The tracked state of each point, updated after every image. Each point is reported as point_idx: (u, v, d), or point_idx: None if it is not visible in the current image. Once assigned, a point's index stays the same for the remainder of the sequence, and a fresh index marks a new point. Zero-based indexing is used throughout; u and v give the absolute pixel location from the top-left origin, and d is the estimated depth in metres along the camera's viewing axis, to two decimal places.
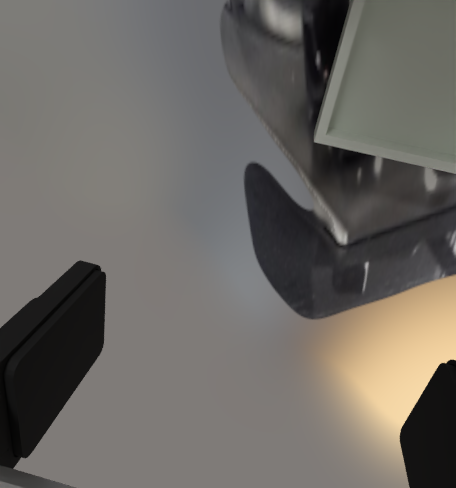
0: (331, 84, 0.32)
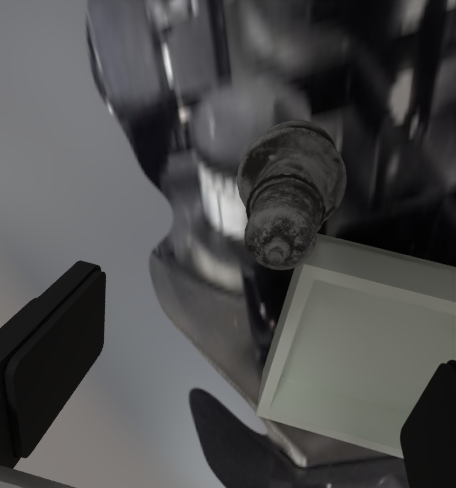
0: (271, 371, 0.27)
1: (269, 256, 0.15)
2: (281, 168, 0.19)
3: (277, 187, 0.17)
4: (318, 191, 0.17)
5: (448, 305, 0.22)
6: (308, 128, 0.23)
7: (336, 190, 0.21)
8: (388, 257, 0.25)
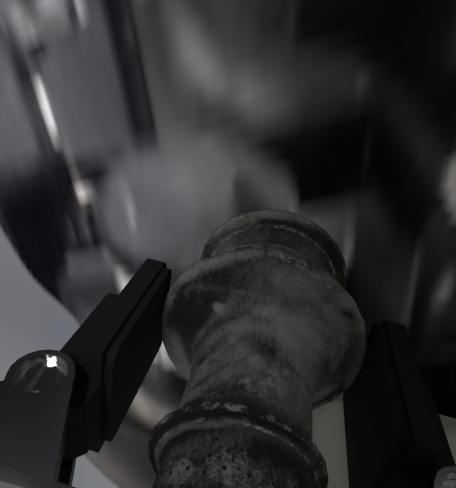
0: None
1: None
2: (232, 349, 0.09)
3: (208, 452, 0.07)
4: (310, 449, 0.07)
5: None
6: (294, 225, 0.13)
7: (346, 364, 0.11)
8: None
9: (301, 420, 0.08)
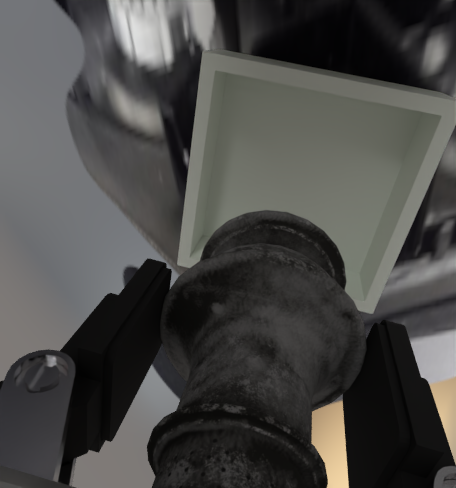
0: (186, 203, 0.25)
1: None
2: (231, 350, 0.09)
3: (207, 453, 0.07)
4: (309, 450, 0.07)
5: (356, 88, 0.20)
6: (293, 225, 0.13)
7: (346, 365, 0.11)
8: (303, 66, 0.23)
9: (300, 421, 0.08)
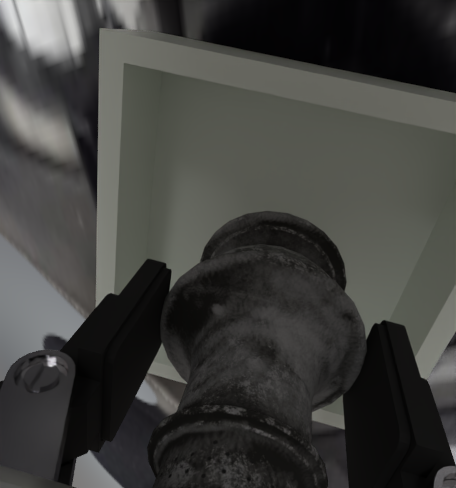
0: (98, 274, 0.16)
1: None
2: (231, 351, 0.09)
3: (208, 455, 0.07)
4: (310, 452, 0.07)
5: (373, 97, 0.11)
6: (294, 226, 0.13)
7: (346, 366, 0.11)
8: (283, 59, 0.14)
9: (301, 423, 0.08)
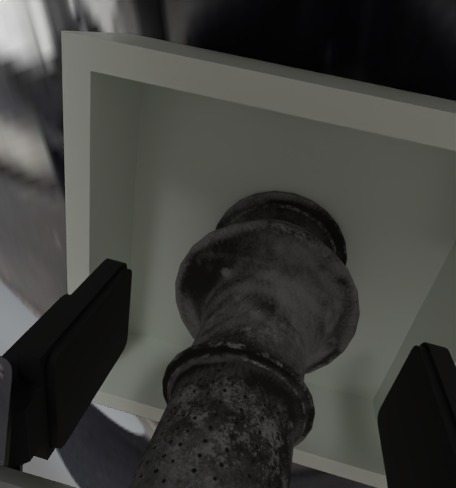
0: None
1: None
2: (236, 305, 0.10)
3: (212, 379, 0.08)
4: (299, 383, 0.08)
5: (383, 112, 0.09)
6: (298, 205, 0.14)
7: (341, 328, 0.12)
8: (278, 66, 0.13)
9: (293, 363, 0.09)
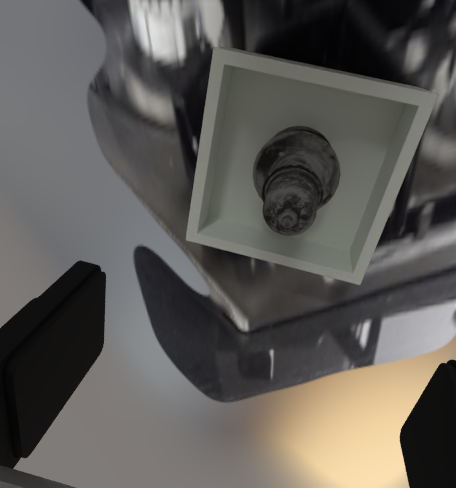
0: (195, 183, 0.28)
1: (282, 222, 0.20)
2: (289, 161, 0.24)
3: (287, 174, 0.22)
4: (318, 178, 0.23)
5: (345, 80, 0.24)
6: (310, 132, 0.29)
7: (332, 181, 0.26)
8: (301, 63, 0.27)
9: None
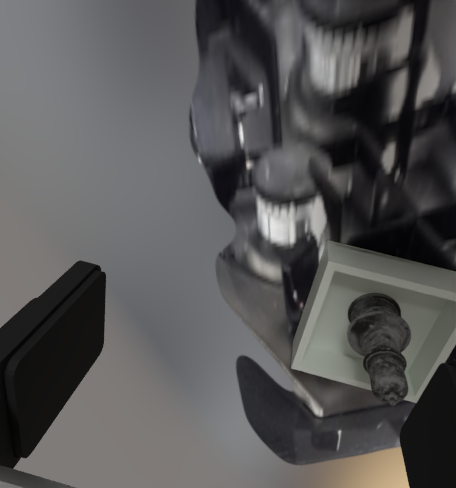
0: (303, 335, 0.40)
1: (389, 402, 0.31)
2: (379, 337, 0.36)
3: (384, 357, 0.34)
4: (403, 357, 0.34)
5: (419, 287, 0.35)
6: (385, 298, 0.40)
7: (405, 342, 0.38)
8: (382, 257, 0.38)
9: None
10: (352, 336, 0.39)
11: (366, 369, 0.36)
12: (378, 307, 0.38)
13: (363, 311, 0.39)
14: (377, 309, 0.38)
